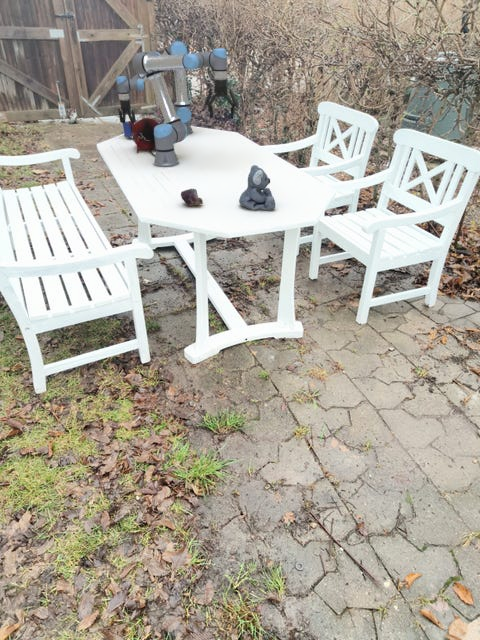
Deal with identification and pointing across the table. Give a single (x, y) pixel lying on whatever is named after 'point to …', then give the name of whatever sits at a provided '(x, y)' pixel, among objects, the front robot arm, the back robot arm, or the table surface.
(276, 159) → the table surface
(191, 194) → the rock
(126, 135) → the block
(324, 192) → the table surface
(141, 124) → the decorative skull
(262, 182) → the koala plush
